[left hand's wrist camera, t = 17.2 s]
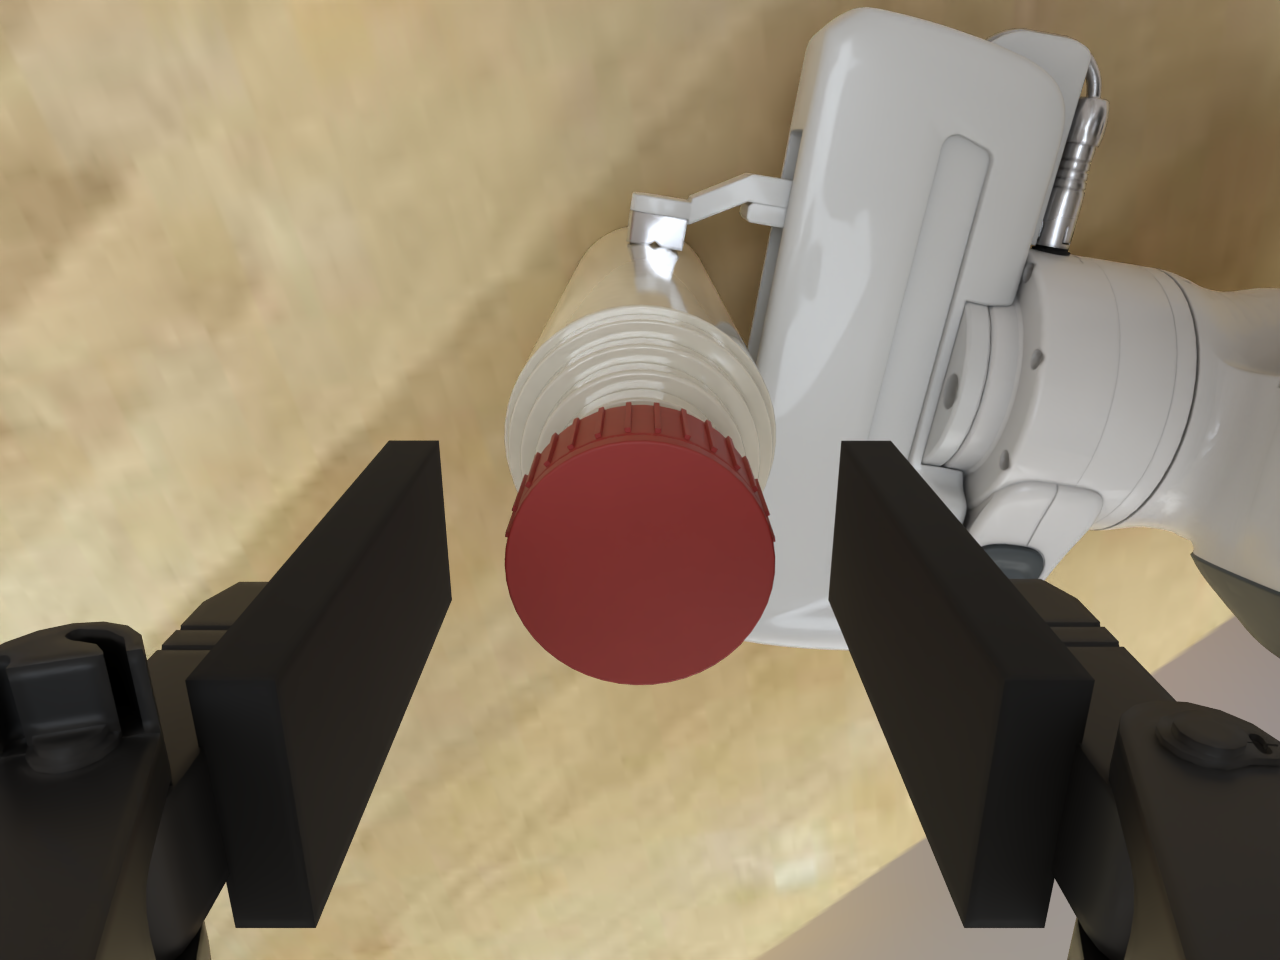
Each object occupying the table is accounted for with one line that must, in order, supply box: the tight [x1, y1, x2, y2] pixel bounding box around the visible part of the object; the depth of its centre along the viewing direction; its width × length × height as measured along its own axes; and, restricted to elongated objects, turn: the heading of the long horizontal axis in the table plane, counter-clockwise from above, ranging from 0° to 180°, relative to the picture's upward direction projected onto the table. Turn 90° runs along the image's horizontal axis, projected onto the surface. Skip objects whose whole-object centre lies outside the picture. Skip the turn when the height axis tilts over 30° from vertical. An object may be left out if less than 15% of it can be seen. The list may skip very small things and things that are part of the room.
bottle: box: [504, 227, 776, 493], centre depth 24 cm, size 5×5×24 cm
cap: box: [505, 402, 775, 685], centre depth 13 cm, size 4×4×2 cm
